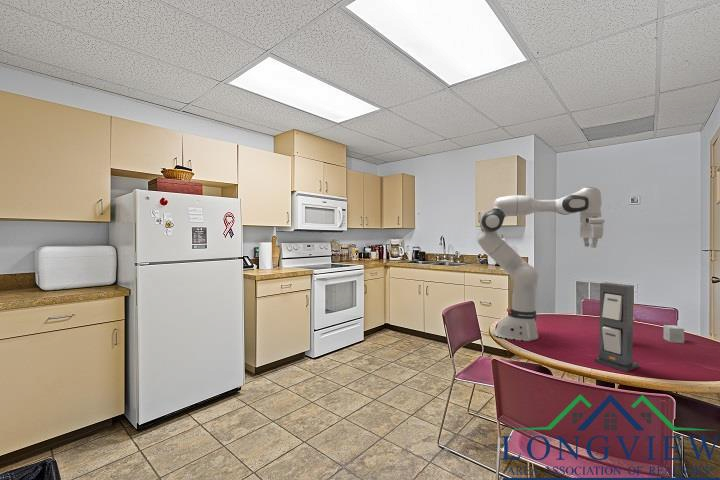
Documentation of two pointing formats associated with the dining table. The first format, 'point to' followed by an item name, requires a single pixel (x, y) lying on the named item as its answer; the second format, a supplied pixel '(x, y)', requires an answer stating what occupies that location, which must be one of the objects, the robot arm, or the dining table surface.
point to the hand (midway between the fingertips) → (590, 247)
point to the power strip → (624, 325)
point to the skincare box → (673, 333)
